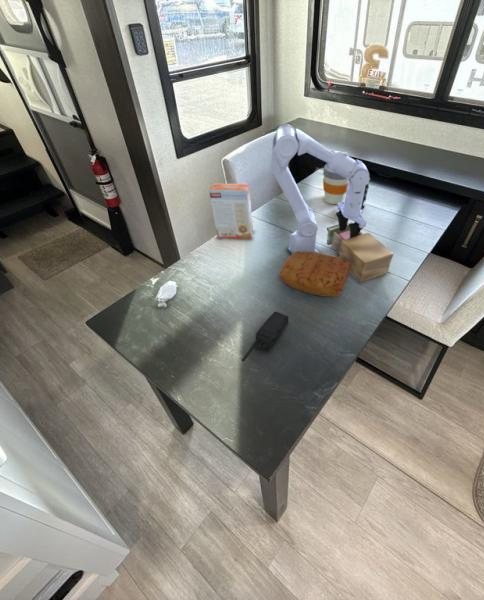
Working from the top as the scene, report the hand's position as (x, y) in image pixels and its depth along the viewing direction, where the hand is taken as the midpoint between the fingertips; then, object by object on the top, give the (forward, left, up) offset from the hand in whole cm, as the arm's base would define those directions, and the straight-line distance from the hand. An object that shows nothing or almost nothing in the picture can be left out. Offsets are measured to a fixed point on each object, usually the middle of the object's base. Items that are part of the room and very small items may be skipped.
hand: (347, 234), depth 115 cm
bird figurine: (-67, +4, -7) cm, 67 cm away
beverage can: (+22, +24, -7) cm, 33 cm away
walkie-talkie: (-45, -28, -7) cm, 53 cm away
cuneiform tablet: (-20, -11, -7) cm, 24 cm away
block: (0, 0, -5) cm, 5 cm away
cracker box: (-35, +28, -7) cm, 45 cm away
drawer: (0, +1, -6) cm, 6 cm away
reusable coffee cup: (+17, +35, -7) cm, 39 cm away
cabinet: (0, -11, -7) cm, 13 cm away
